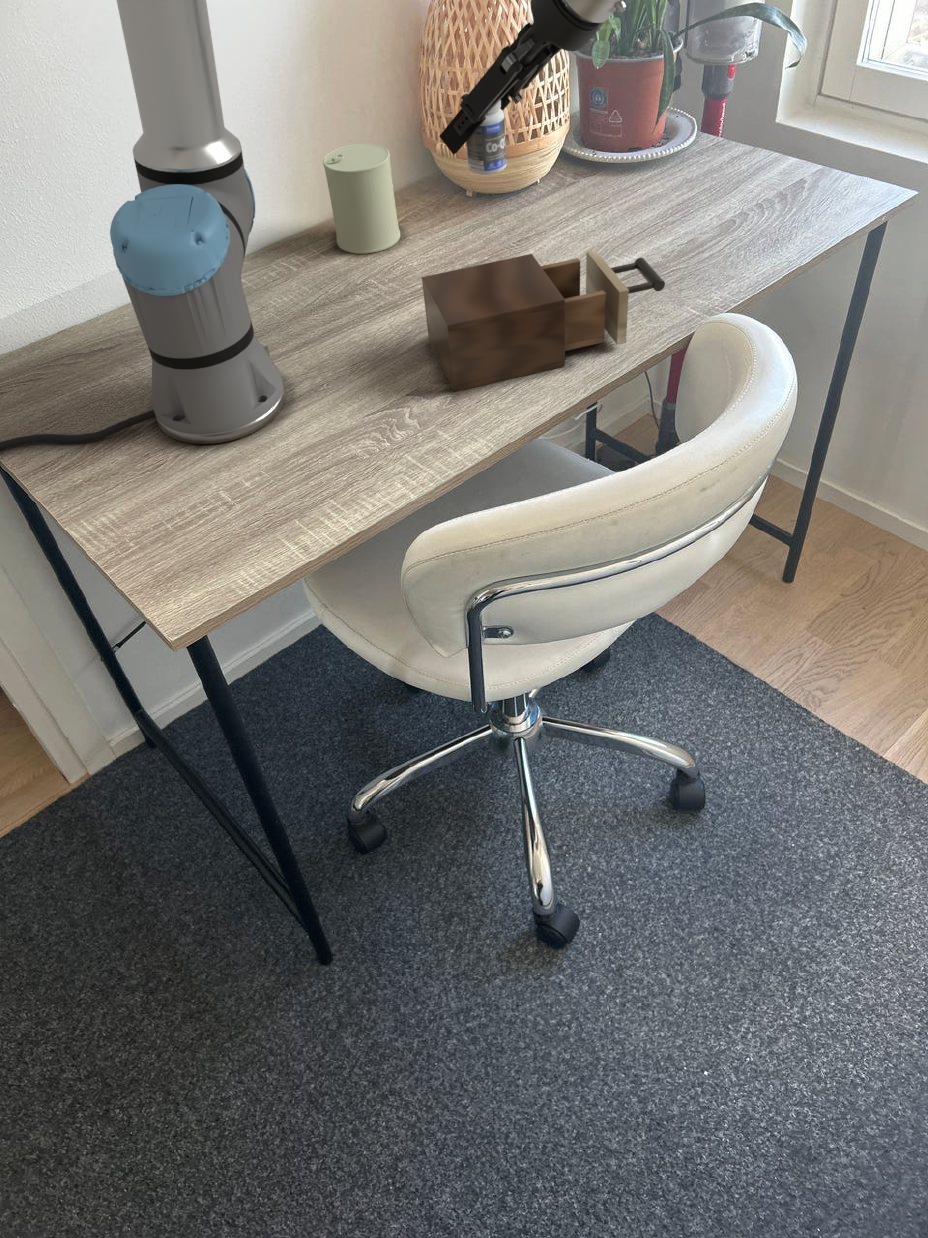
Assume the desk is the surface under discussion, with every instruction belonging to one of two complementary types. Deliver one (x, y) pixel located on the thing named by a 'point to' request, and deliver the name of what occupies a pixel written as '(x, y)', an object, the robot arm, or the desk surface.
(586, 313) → the drawer
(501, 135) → the pill bottle
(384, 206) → the can
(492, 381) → the cabinet
